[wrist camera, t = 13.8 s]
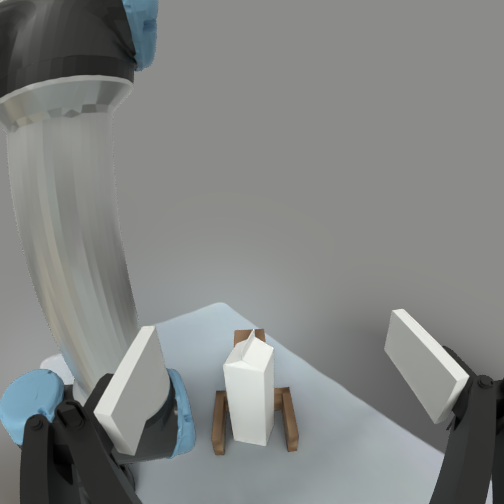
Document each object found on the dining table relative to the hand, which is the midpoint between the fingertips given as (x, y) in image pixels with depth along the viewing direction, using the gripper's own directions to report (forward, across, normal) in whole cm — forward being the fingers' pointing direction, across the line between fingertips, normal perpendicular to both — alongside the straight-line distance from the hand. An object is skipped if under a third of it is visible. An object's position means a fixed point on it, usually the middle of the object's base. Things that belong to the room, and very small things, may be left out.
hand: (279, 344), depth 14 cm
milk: (+20, -2, -35) cm, 41 cm away
